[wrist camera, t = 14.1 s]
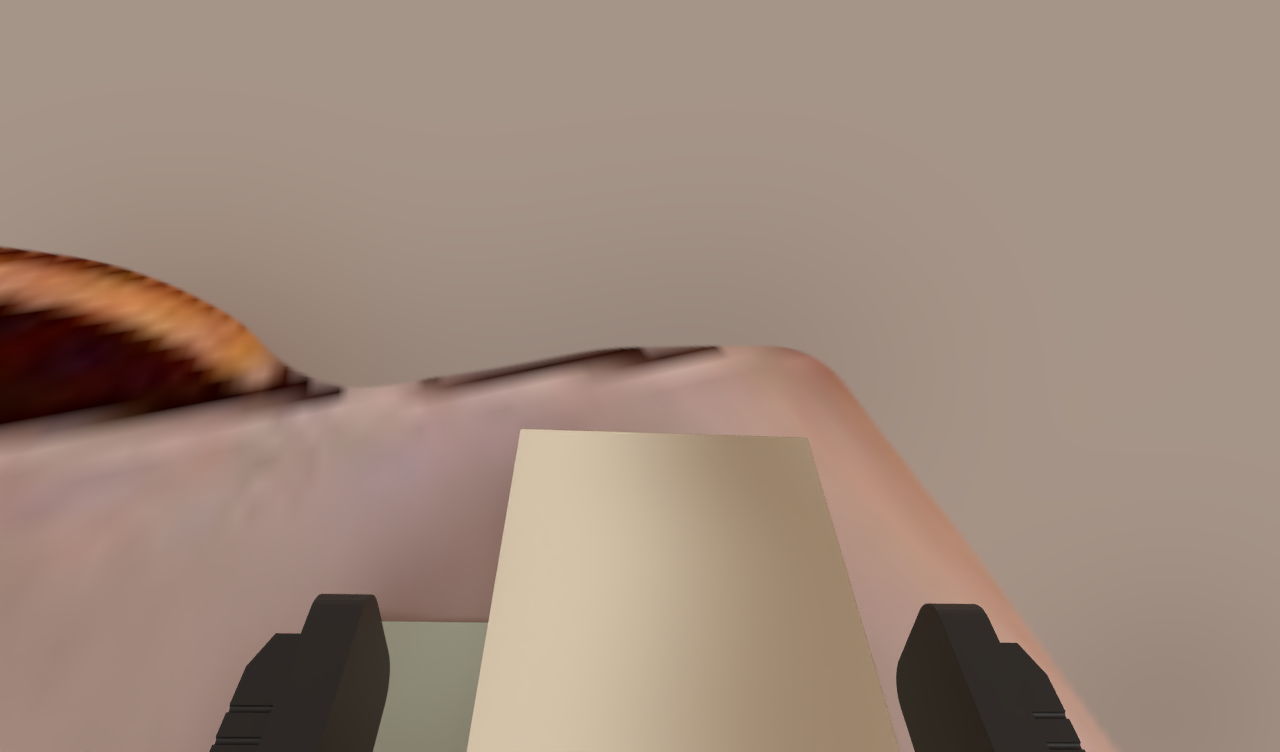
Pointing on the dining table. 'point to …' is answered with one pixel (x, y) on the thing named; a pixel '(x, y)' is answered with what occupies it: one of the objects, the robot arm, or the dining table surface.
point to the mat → (430, 685)
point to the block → (673, 603)
